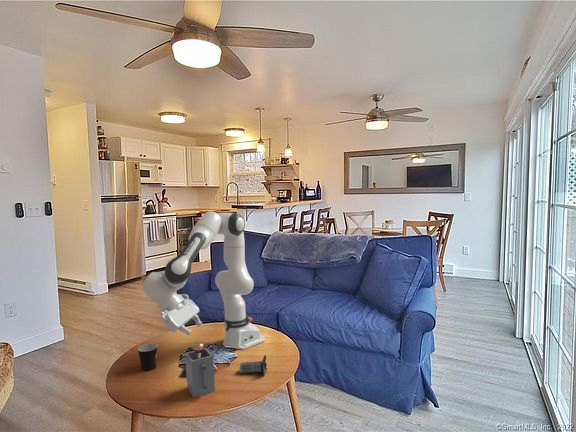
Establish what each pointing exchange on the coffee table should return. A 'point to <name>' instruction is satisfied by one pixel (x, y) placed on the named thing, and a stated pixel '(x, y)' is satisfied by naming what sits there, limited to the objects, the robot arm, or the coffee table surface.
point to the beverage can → (254, 366)
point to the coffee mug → (148, 356)
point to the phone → (183, 373)
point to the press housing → (200, 373)
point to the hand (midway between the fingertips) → (195, 329)
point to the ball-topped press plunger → (198, 348)
